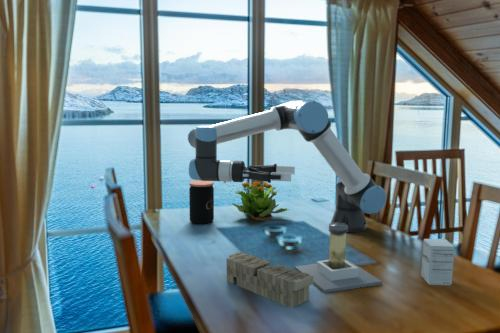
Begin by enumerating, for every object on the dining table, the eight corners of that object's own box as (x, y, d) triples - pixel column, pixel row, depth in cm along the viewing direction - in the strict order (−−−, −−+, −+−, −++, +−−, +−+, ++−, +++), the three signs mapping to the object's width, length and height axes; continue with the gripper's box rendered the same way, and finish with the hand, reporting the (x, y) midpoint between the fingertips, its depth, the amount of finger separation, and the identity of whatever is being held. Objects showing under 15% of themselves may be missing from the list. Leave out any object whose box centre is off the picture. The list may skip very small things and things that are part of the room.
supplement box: (420, 276, 156) (423, 238, 154) (443, 276, 156) (446, 238, 153) (427, 285, 148) (430, 245, 146) (452, 285, 148) (455, 246, 146)
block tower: (223, 283, 151) (295, 310, 131) (222, 257, 150) (295, 280, 130) (241, 276, 157) (313, 301, 136) (241, 251, 156) (313, 273, 135)
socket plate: (347, 262, 167) (347, 251, 167) (381, 284, 149) (382, 271, 148) (294, 269, 160) (295, 257, 160) (323, 293, 142) (324, 280, 141)
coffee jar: (209, 226, 209) (209, 185, 207) (186, 224, 212) (185, 184, 209) (216, 219, 220) (216, 180, 217) (194, 218, 222) (193, 179, 219)
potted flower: (294, 214, 230) (295, 178, 227) (281, 227, 208) (282, 187, 205) (245, 209, 238) (245, 174, 236) (227, 222, 216) (227, 183, 213)
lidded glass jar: (339, 269, 158) (341, 221, 156) (349, 275, 153) (351, 226, 150) (323, 271, 156) (325, 223, 154) (332, 277, 151) (334, 228, 148)
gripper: (239, 175, 184) (295, 178, 180) (224, 188, 160) (289, 191, 156) (239, 156, 183) (296, 158, 179) (224, 166, 158) (289, 168, 155)
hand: (292, 173), depth 167 cm, fingers open, 13 cm apart
